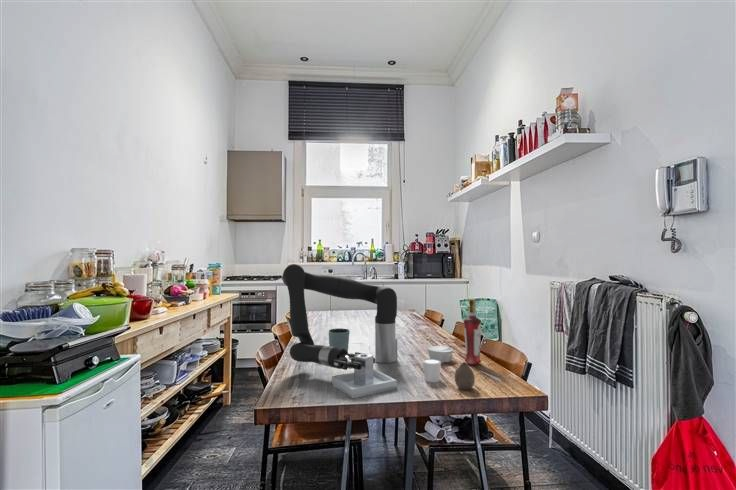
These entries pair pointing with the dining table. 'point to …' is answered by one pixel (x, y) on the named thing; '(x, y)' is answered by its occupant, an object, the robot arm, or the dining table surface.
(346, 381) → the tray
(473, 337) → the liquor
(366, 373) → the steel block
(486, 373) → the butter knife
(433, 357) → the ramekin
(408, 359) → the dining table surface
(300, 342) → the robot arm
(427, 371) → the white cylinder
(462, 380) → the grey egg-shaped piece
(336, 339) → the green cup
